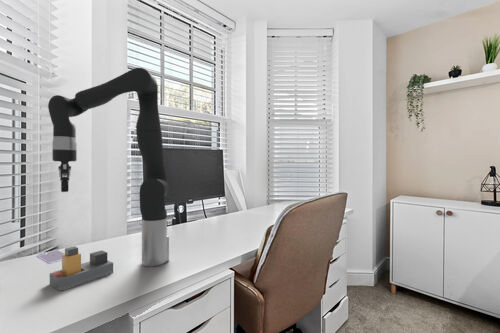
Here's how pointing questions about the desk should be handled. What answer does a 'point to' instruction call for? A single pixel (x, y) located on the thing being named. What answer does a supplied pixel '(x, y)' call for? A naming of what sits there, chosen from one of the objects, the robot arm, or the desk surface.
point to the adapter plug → (71, 261)
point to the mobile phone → (51, 256)
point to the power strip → (84, 272)
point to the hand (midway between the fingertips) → (64, 190)
